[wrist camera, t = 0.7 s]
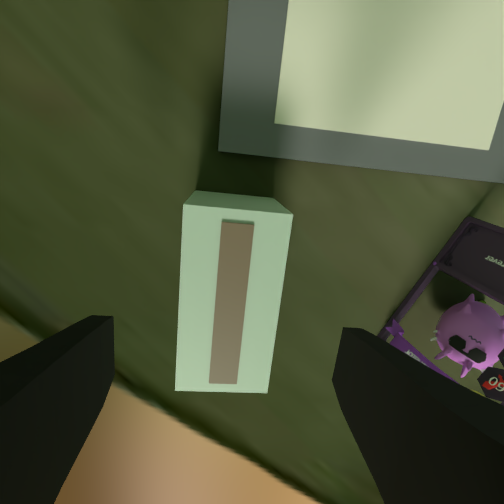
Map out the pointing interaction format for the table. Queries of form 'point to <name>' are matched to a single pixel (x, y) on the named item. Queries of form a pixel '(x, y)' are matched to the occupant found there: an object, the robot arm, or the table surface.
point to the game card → (465, 306)
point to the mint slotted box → (230, 291)
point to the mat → (368, 84)
